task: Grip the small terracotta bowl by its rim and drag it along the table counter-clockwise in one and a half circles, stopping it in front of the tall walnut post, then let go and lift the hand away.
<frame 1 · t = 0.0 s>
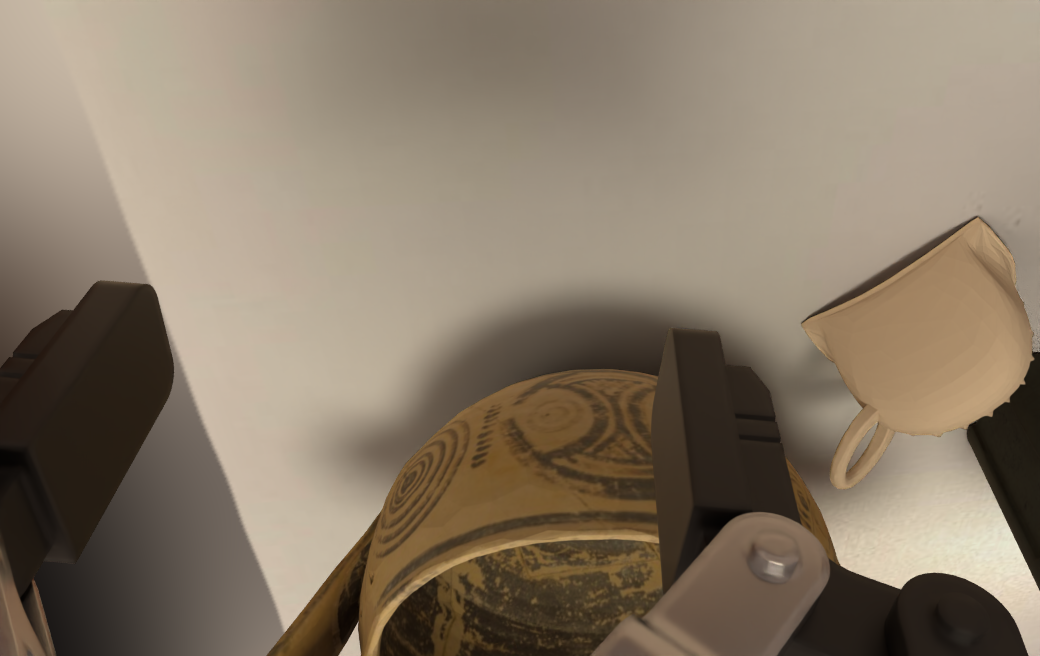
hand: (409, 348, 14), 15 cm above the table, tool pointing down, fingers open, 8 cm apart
decorative ornament: (894, 308, 31), on the table
ceramic bowl: (598, 451, 37), on the table
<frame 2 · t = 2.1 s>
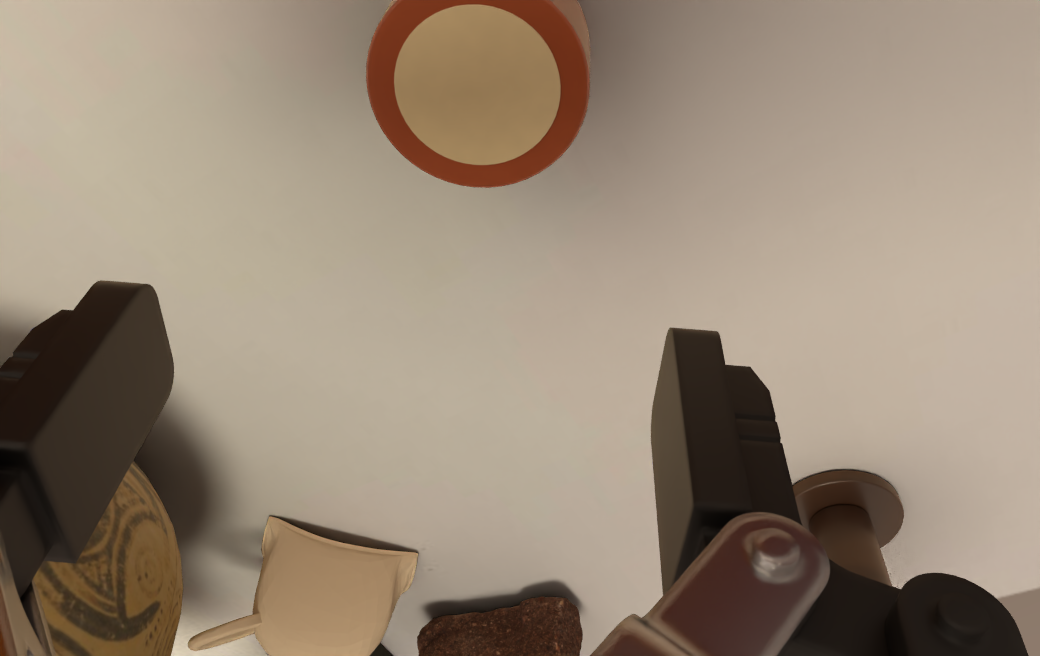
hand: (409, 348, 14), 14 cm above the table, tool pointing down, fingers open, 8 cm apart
decorative ornament: (326, 550, 40), on the table
stone: (499, 604, 42), on the table
ceramic bowl: (36, 460, 37), on the table
terracotta bowl: (493, 25, 25), on the table
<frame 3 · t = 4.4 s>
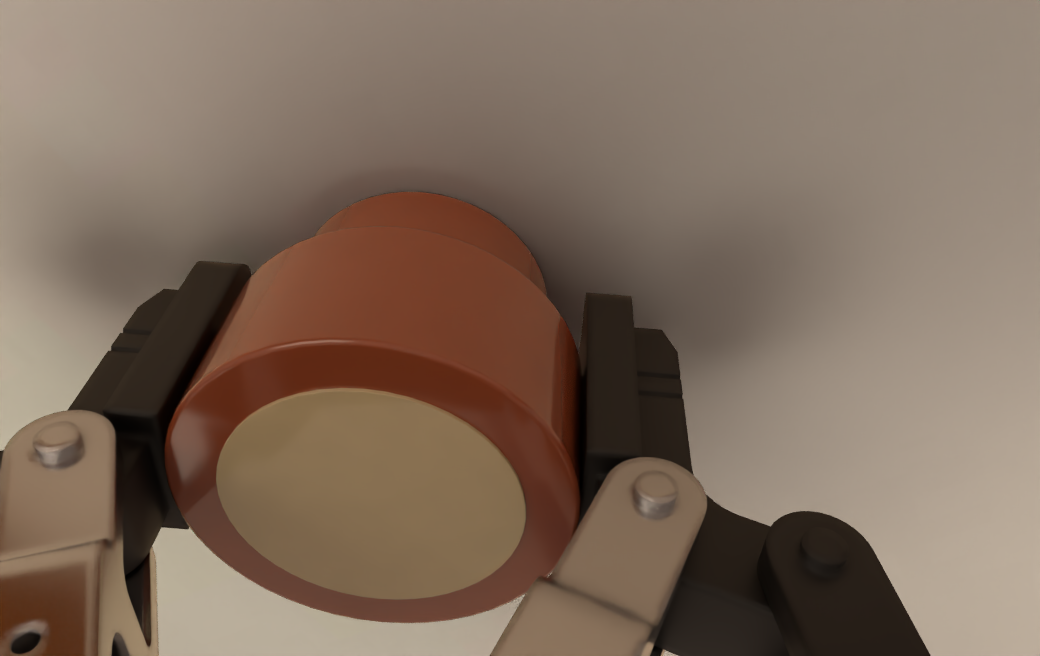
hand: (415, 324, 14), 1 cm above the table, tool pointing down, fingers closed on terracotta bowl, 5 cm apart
terracotta bowl: (423, 299, 15), on the table, touching gripper
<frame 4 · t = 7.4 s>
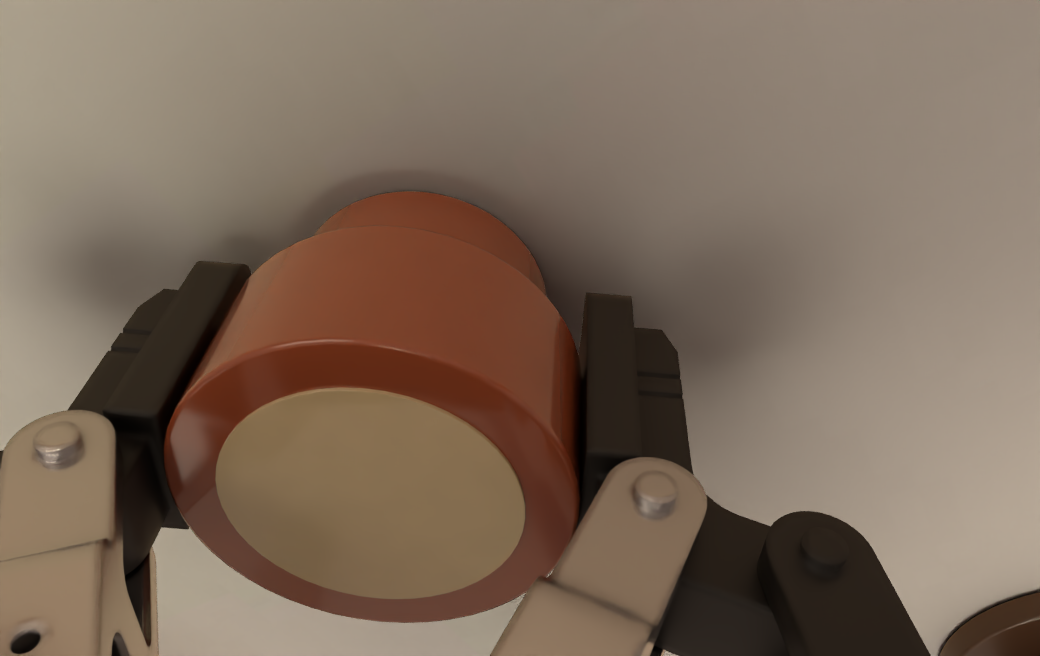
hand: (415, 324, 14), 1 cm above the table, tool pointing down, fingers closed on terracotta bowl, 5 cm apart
terracotta bowl: (423, 299, 15), on the table, touching gripper
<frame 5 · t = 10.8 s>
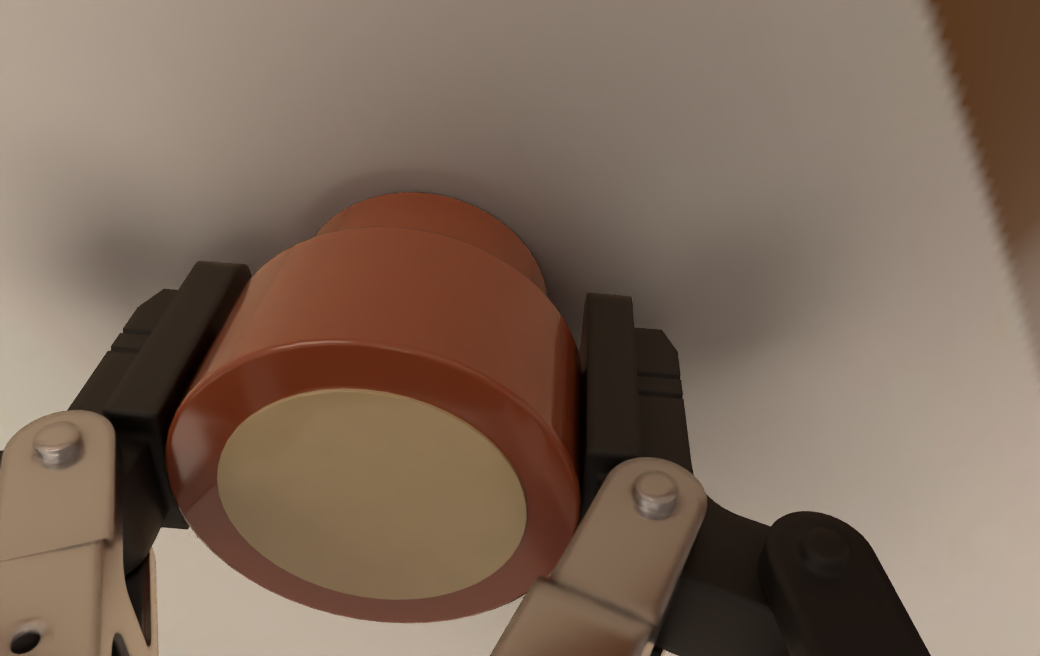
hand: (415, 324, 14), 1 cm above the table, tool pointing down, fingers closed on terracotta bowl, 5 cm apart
terracotta bowl: (424, 299, 15), on the table, touching gripper
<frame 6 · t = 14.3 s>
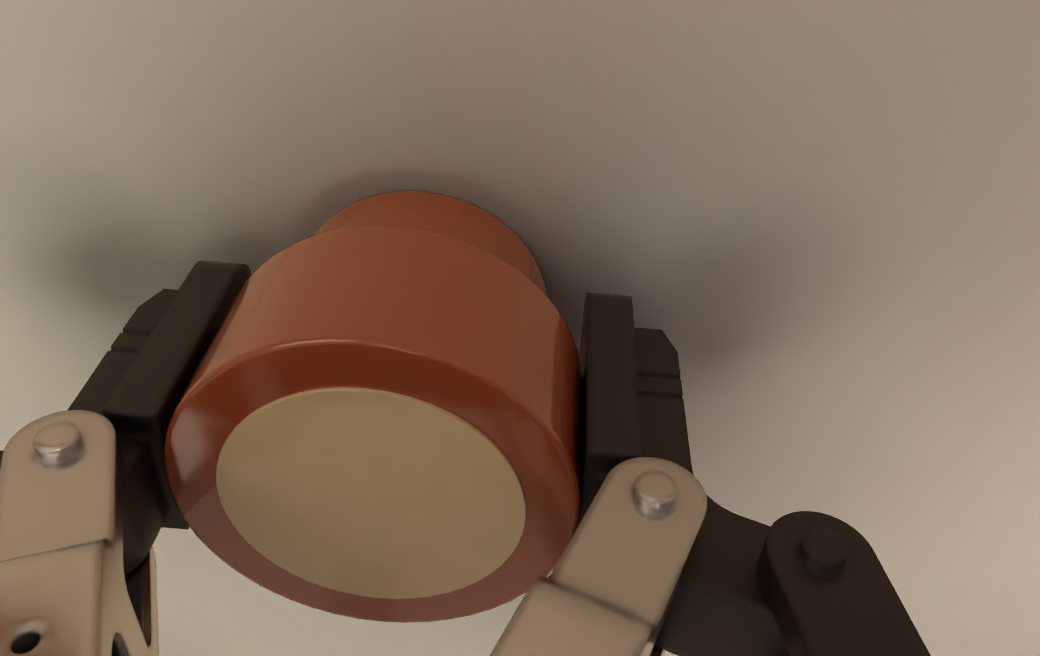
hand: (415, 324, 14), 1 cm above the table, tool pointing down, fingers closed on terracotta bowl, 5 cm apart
terracotta bowl: (423, 299, 15), on the table, touching gripper
when the fingers open (1 cm above the table, at t = 17.2 s): terracotta bowl stays where it is, on the table.
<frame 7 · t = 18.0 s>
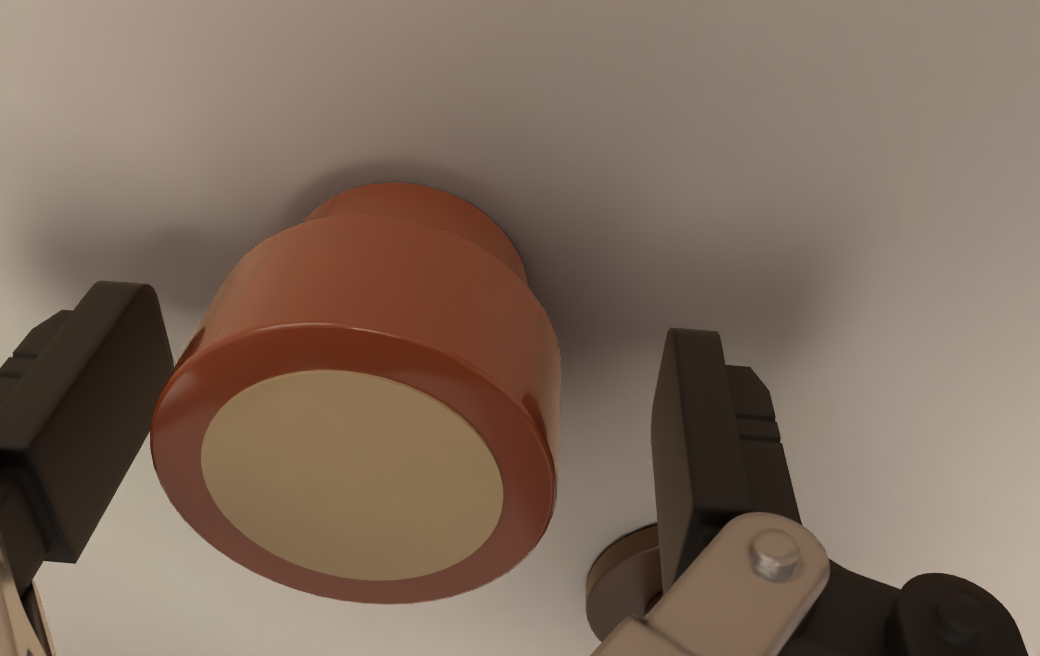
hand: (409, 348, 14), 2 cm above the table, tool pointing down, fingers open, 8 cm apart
terracotta bowl: (407, 289, 15), on the table
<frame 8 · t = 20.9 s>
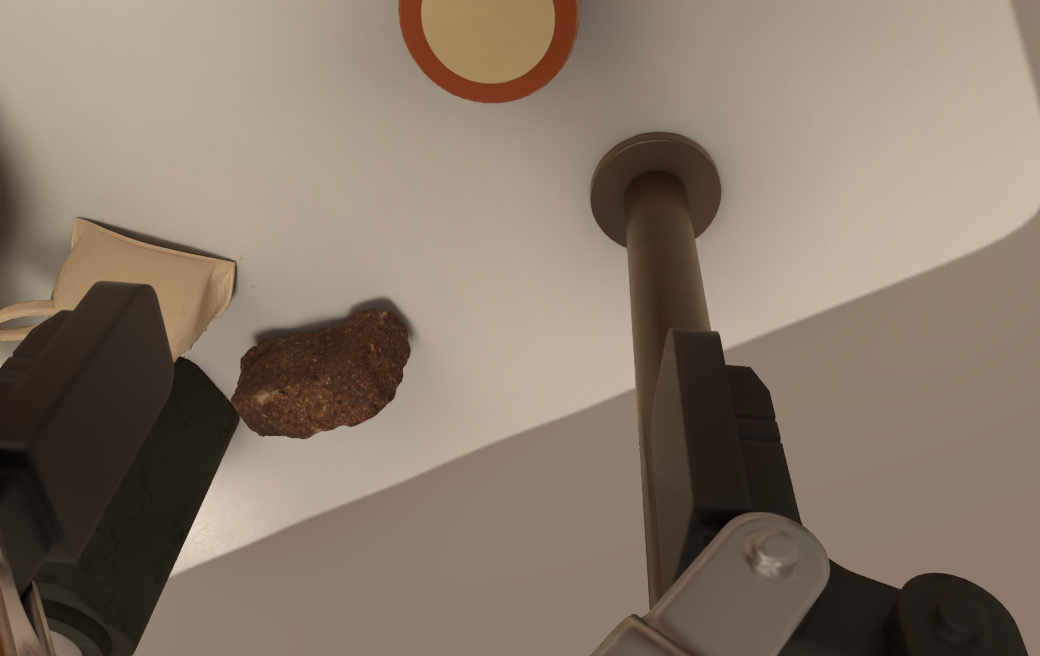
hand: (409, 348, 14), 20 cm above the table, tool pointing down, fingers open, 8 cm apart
decorative ornament: (144, 265, 38), on the table
walnut post: (685, 448, 23), on the table
stone: (331, 334, 40), on the table
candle: (178, 400, 43), on the table
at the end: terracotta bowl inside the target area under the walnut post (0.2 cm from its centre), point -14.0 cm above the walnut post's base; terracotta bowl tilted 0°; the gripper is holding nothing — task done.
